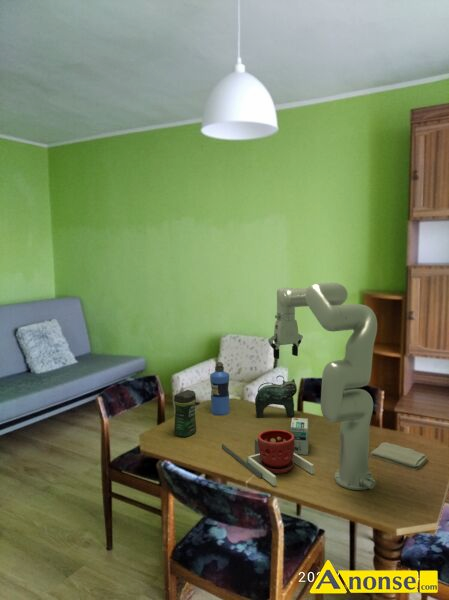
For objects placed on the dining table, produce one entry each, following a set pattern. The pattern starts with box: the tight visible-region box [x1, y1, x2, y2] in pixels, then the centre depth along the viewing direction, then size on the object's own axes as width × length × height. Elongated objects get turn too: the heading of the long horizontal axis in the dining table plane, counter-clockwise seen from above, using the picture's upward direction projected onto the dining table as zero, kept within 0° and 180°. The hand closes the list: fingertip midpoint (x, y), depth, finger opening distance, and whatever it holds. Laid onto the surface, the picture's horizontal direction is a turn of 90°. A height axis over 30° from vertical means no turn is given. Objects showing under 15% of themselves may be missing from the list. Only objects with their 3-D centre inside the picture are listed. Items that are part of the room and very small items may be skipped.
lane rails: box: [221, 439, 273, 480], centre depth 168 cm, size 28×19×2 cm
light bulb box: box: [290, 417, 309, 456], centre depth 174 cm, size 11×7×11 cm, turn 168°
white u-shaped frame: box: [246, 438, 315, 486], centre depth 159 cm, size 22×17×6 cm
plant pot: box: [257, 429, 295, 474], centre depth 159 cm, size 13×13×12 cm
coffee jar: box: [173, 389, 197, 438], centre depth 190 cm, size 10×8×19 cm
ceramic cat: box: [254, 375, 298, 419], centre depth 208 cm, size 20×6×20 cm, turn 89°
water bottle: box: [209, 361, 230, 417], centre depth 214 cm, size 9×9×25 cm
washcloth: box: [369, 442, 428, 471], centre depth 165 cm, size 12×18×3 cm, turn 48°
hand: (285, 356), depth 187 cm, fingers open, 9 cm apart
